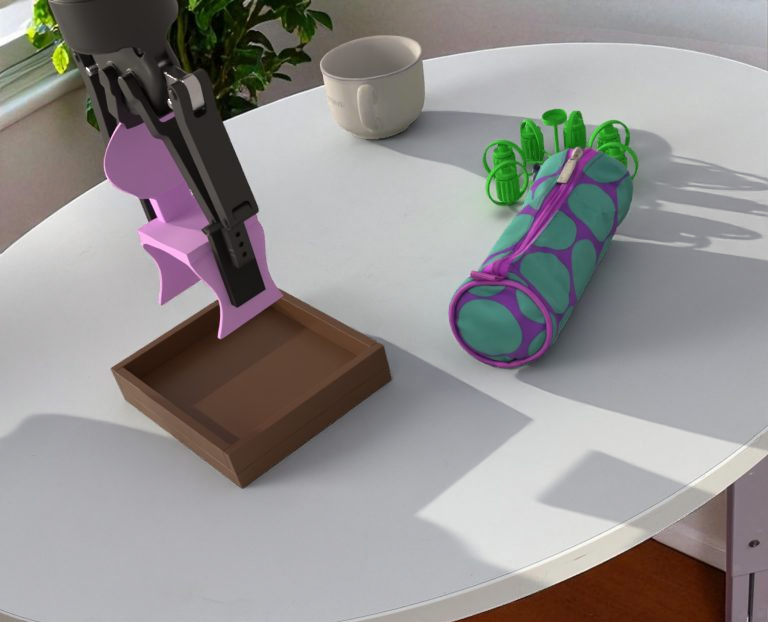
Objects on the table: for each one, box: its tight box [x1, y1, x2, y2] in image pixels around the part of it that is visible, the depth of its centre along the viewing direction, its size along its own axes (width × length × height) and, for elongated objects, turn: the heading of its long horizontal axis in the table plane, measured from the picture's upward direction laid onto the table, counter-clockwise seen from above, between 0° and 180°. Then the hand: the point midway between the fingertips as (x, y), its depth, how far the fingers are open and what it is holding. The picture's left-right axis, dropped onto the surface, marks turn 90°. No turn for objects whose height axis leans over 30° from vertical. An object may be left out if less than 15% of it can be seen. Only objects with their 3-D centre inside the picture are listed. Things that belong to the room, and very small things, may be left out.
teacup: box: [319, 34, 426, 140], centre depth 113 cm, size 14×11×8 cm
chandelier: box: [482, 108, 640, 207], centre depth 100 cm, size 15×15×7 cm
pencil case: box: [448, 147, 634, 370], centre depth 86 cm, size 21×9×10 cm, turn 154°
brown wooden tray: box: [110, 287, 393, 490], centre depth 88 cm, size 18×16×4 cm
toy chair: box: [103, 112, 283, 339], centre depth 78 cm, size 8×9×15 cm
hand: (214, 277), depth 81 cm, fingers closed on toy chair, 8 cm apart
